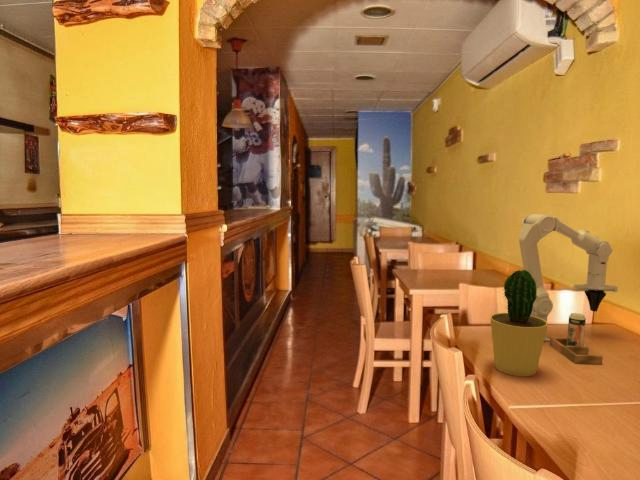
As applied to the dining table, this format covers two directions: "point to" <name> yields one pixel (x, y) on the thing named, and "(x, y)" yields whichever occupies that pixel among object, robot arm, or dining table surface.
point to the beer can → (576, 330)
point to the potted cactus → (518, 328)
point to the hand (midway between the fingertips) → (593, 310)
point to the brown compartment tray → (575, 352)
